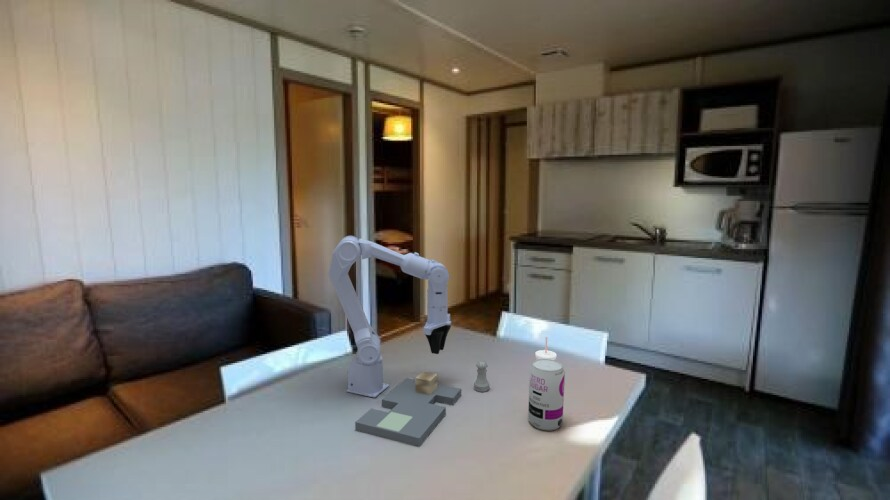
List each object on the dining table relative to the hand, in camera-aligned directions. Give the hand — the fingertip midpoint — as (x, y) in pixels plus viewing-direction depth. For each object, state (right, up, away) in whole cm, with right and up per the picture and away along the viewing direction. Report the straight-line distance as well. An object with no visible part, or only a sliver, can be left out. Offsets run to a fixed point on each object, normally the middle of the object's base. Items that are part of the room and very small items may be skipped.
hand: (437, 351), depth 124 cm
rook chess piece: (+13, -11, -1) cm, 17 cm away
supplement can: (+27, -13, -18) cm, 35 cm away
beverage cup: (+32, -10, +3) cm, 33 cm away
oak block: (-3, -9, -6) cm, 11 cm away
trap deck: (-6, -12, -13) cm, 19 cm away
